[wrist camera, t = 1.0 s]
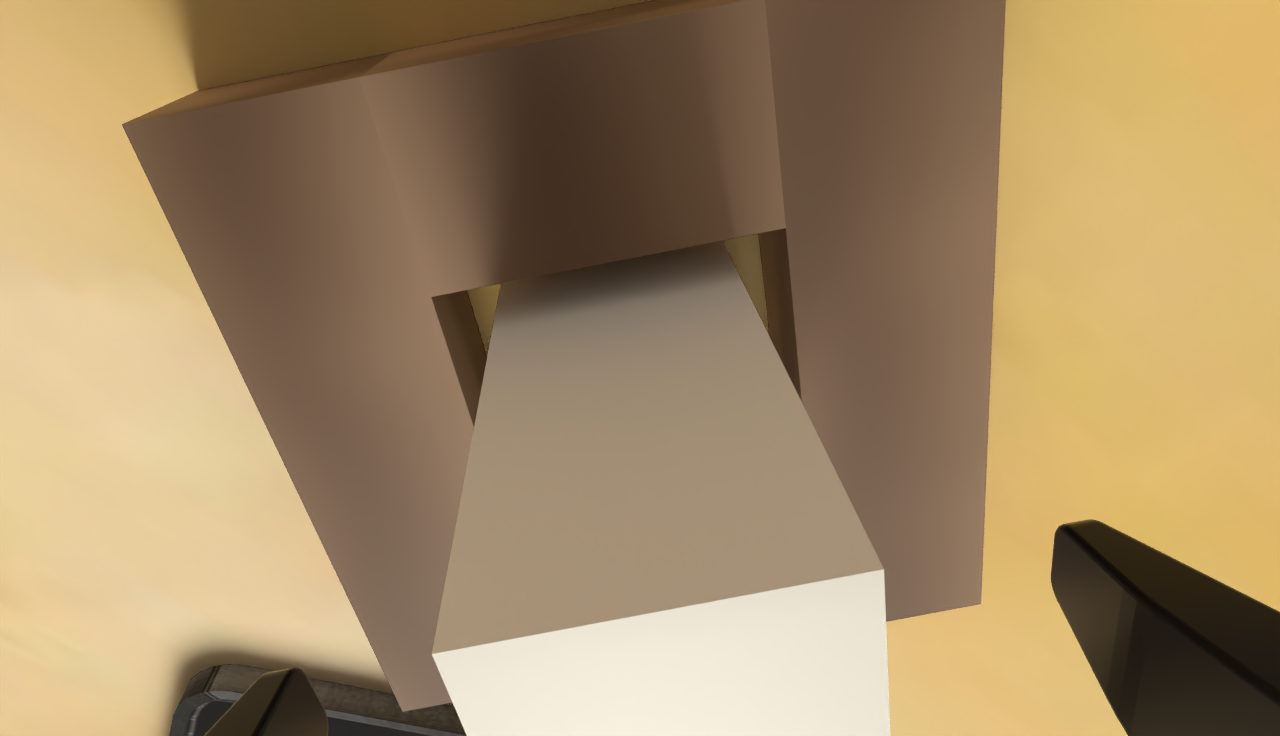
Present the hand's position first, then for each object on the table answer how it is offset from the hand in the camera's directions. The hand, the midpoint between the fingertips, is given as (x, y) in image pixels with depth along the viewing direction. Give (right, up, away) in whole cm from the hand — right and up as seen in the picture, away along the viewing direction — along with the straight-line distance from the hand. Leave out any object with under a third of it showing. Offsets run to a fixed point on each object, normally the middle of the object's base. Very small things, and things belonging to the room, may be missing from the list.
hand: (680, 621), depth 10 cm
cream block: (-1, +3, +6) cm, 7 cm away
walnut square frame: (-1, +3, +6) cm, 7 cm away
